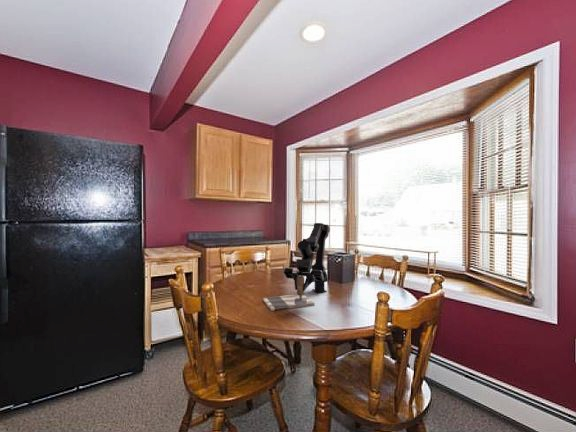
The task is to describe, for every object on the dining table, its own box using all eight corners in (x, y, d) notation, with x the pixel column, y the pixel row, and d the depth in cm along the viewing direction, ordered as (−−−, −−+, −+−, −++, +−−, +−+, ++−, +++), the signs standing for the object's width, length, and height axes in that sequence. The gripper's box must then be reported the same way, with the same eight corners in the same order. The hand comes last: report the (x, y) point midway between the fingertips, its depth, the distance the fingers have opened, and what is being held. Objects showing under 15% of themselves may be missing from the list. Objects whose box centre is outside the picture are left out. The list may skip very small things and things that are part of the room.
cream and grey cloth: (263, 300, 146) (263, 297, 146) (302, 295, 153) (302, 293, 153) (271, 310, 131) (271, 308, 130) (314, 305, 138) (314, 302, 138)
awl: (293, 302, 132) (292, 276, 132) (304, 301, 134) (303, 275, 133) (297, 306, 127) (296, 278, 126) (308, 304, 129) (308, 277, 128)
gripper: (284, 251, 137) (275, 279, 127) (322, 253, 130) (315, 282, 120) (290, 264, 144) (282, 291, 134) (326, 266, 137) (320, 295, 128)
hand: (299, 290), depth 129 cm, fingers closed on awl, 3 cm apart
